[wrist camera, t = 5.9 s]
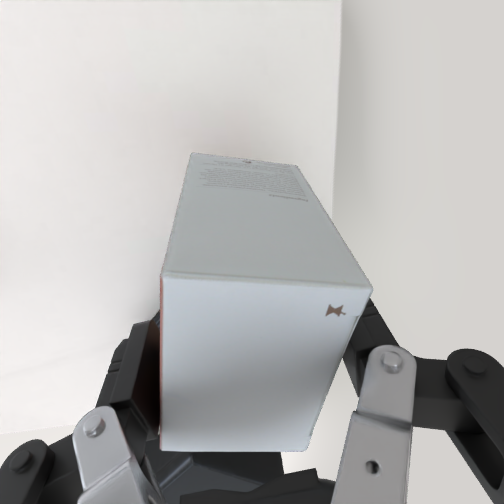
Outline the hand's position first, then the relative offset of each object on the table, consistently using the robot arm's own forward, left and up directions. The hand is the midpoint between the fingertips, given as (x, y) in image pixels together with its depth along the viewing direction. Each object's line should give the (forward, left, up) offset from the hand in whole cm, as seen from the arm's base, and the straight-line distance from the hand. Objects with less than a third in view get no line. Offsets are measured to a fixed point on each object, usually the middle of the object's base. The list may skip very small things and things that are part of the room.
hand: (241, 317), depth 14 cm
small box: (-1, 0, -7) cm, 7 cm away
